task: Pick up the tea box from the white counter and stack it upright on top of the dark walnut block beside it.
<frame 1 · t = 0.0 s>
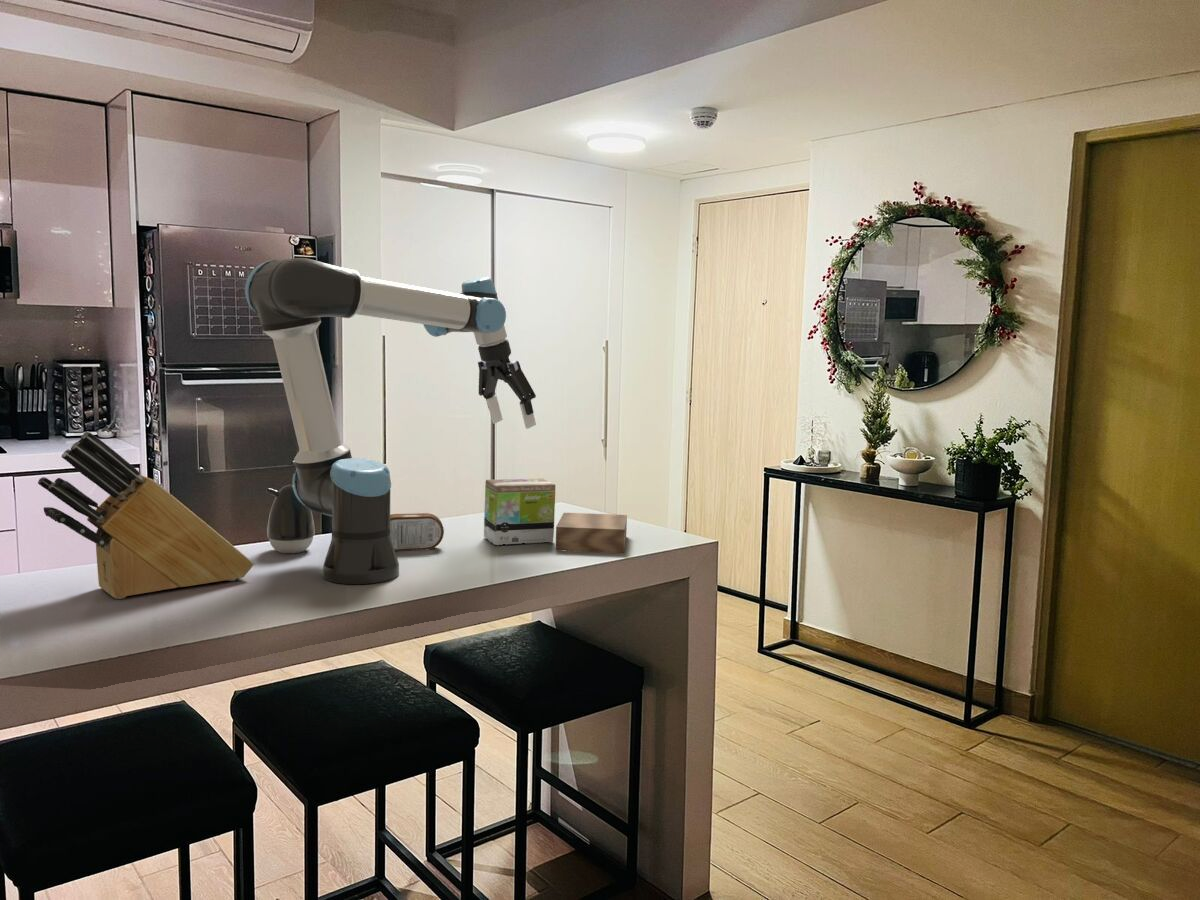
hand: (514, 424, 230), 28 cm above the counter, tool tilted 20°, fingers open, 13 cm apart
tin: (411, 550, 215), on the counter
pump dispenser: (290, 551, 210), on the counter
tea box: (518, 541, 227), on the counter
knife block: (152, 588, 178), on the counter
walnut block: (592, 544, 226), on the counter
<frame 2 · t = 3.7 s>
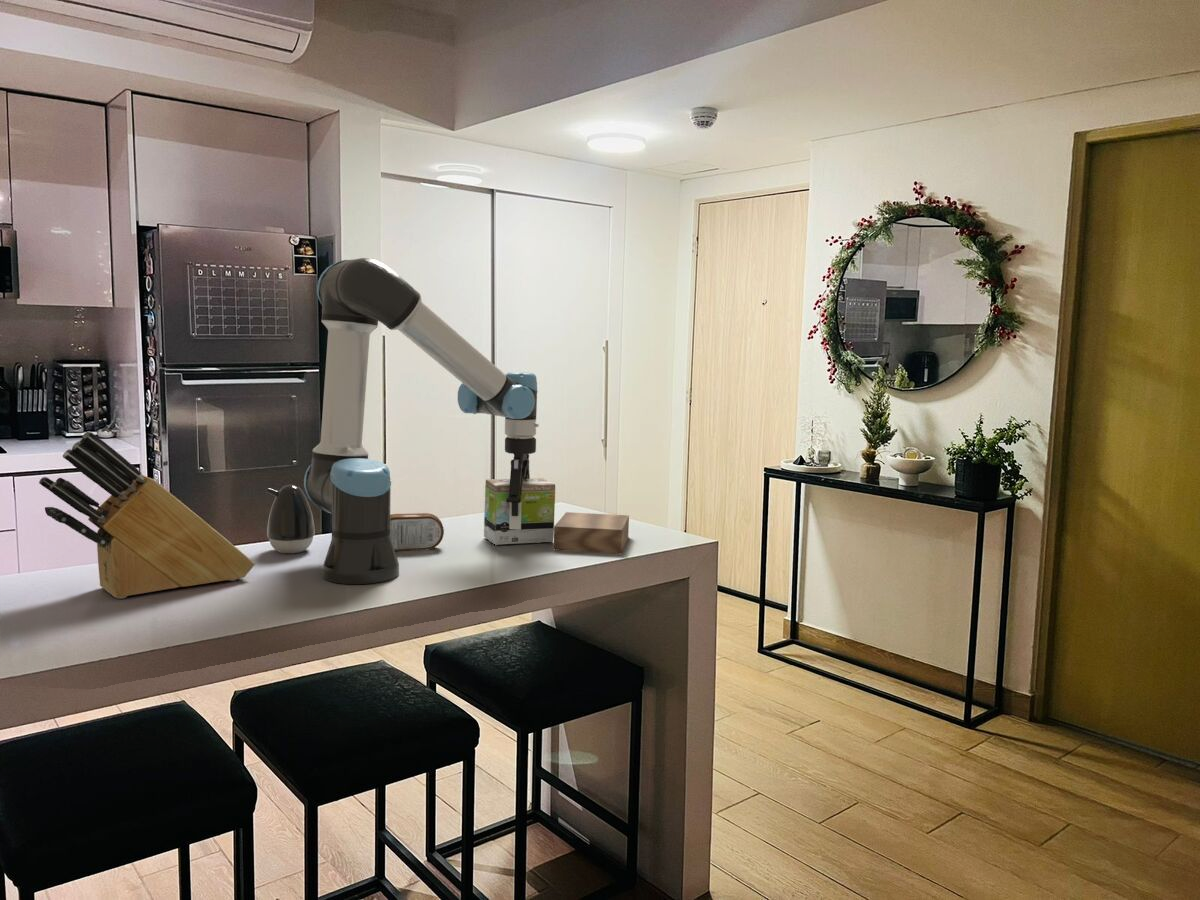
hand: (519, 523, 227), 4 cm above the counter, tool pointing down, fingers closed on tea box, 12 cm apart
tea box: (518, 541, 227), on the counter, touching gripper
everything else where it was.
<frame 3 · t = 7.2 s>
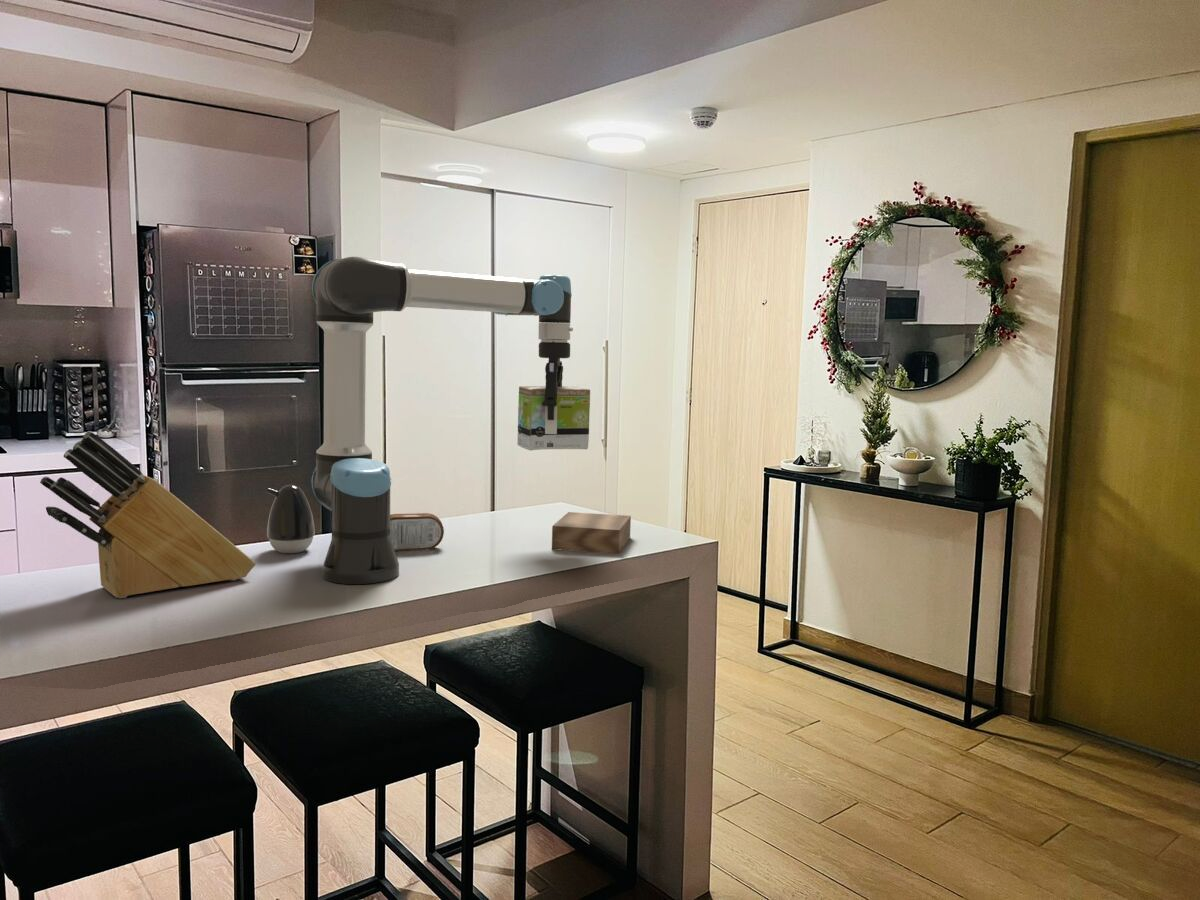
hand: (553, 431, 224), 27 cm above the counter, tool pointing down, fingers closed on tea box, 12 cm apart
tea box: (553, 448, 224), point 23 cm above the counter, touching gripper
everything else where it was.
when the fingers open (11 cm above the counter, at t = 10.9 s): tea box drops 2 cm, resting on walnut block.
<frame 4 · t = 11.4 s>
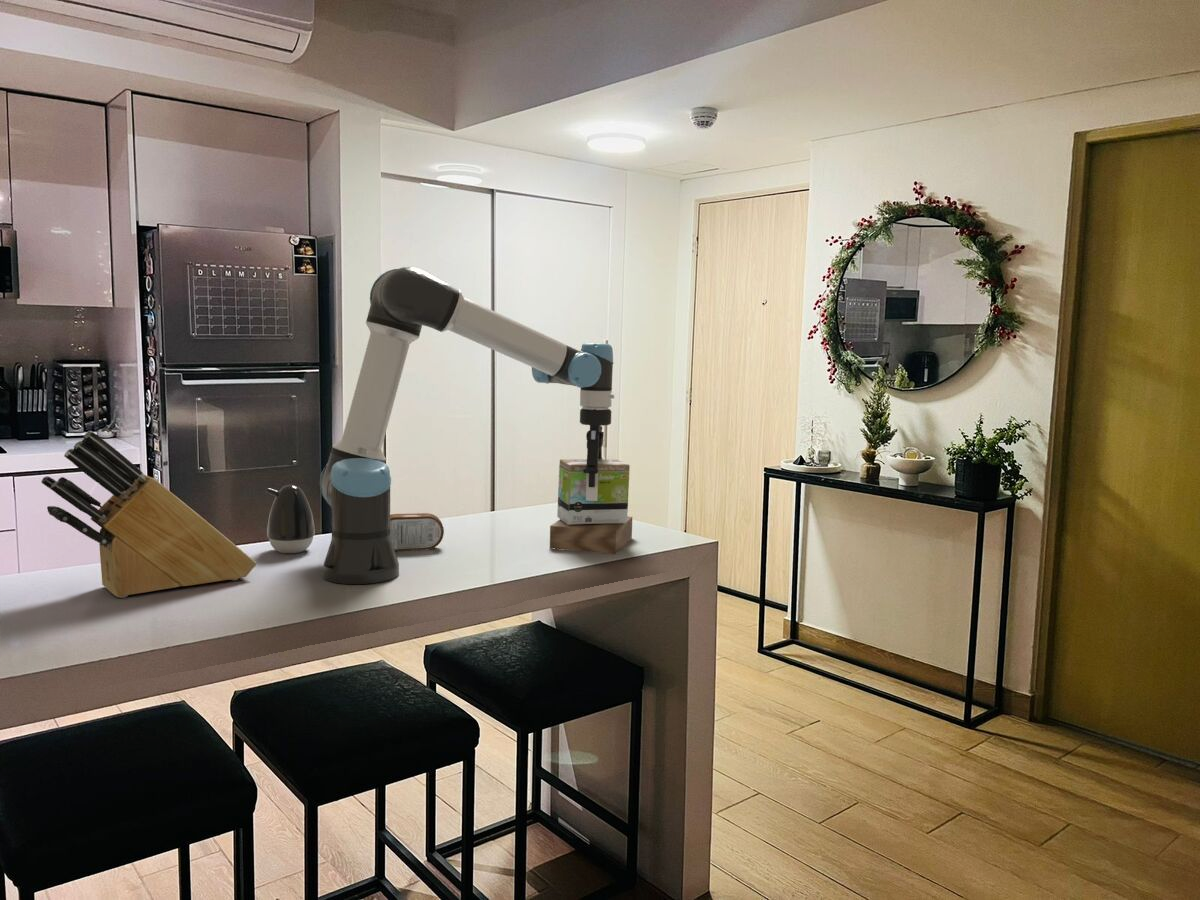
hand: (593, 495, 225), 12 cm above the counter, tool pointing down, fingers open, 13 cm apart
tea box: (592, 522, 225), point 5 cm above the counter, touching walnut block
walnut block: (591, 545, 226), on the counter, touching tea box
everything else where it was.
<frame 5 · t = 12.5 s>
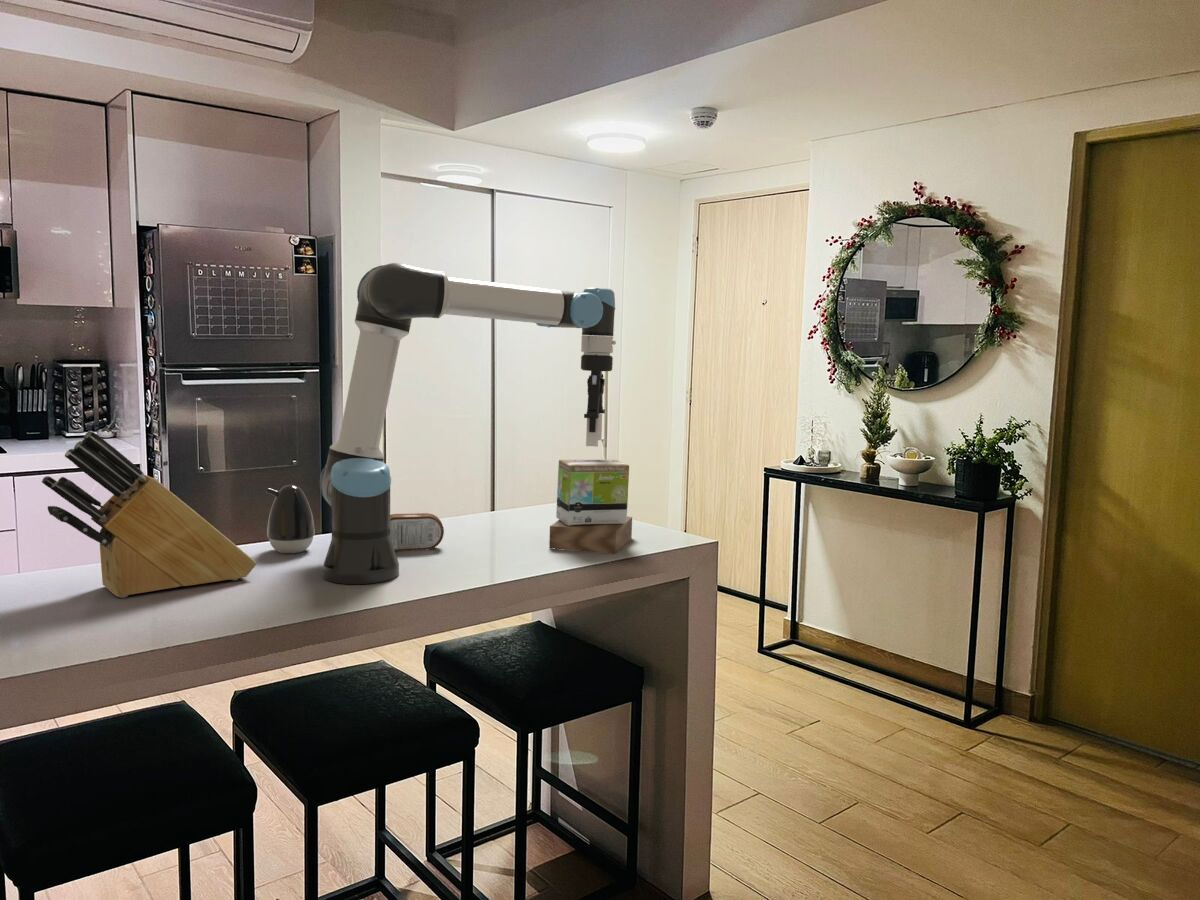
hand: (593, 443, 223), 25 cm above the counter, tool pointing down, fingers open, 13 cm apart
nothing on the counter moved.
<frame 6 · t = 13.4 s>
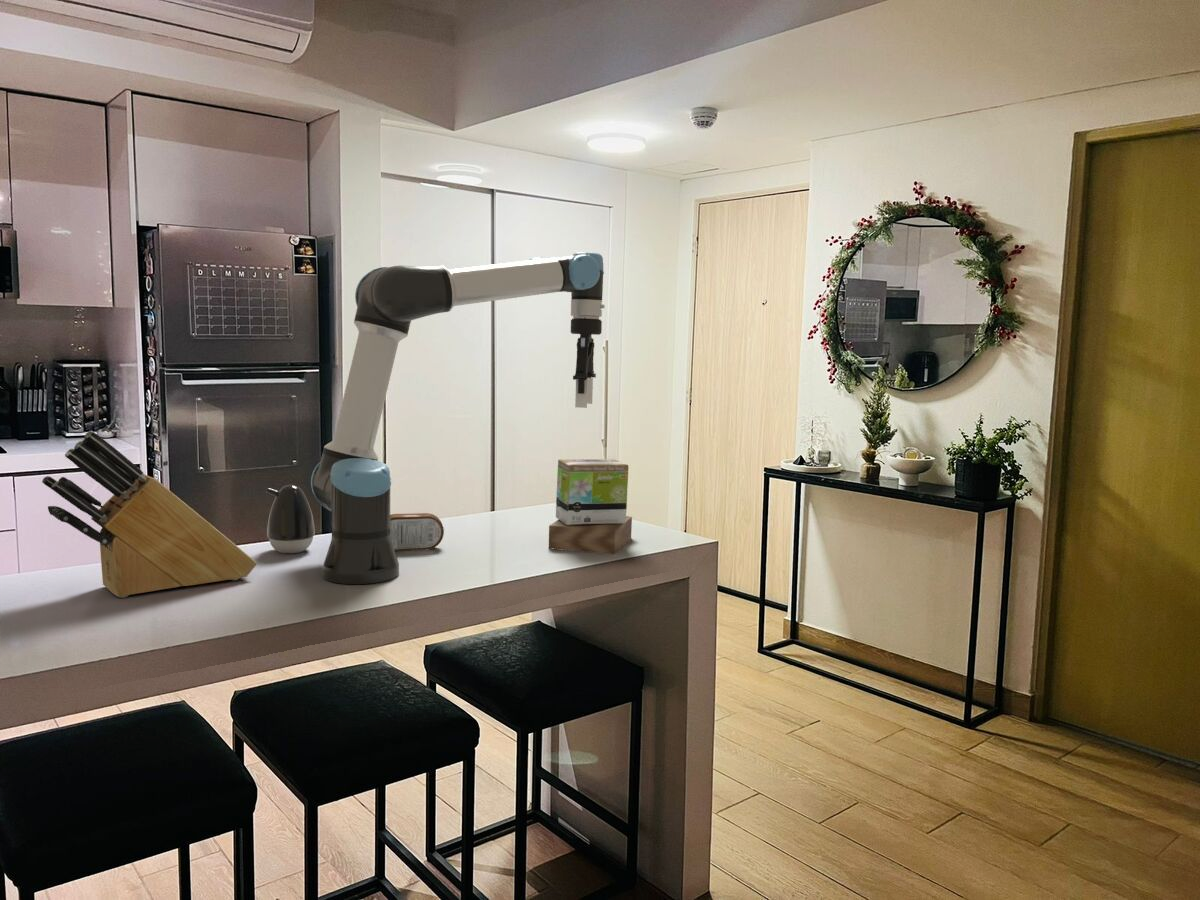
hand: (583, 405, 227), 33 cm above the counter, tool pointing down, fingers open, 13 cm apart
nothing on the counter moved.
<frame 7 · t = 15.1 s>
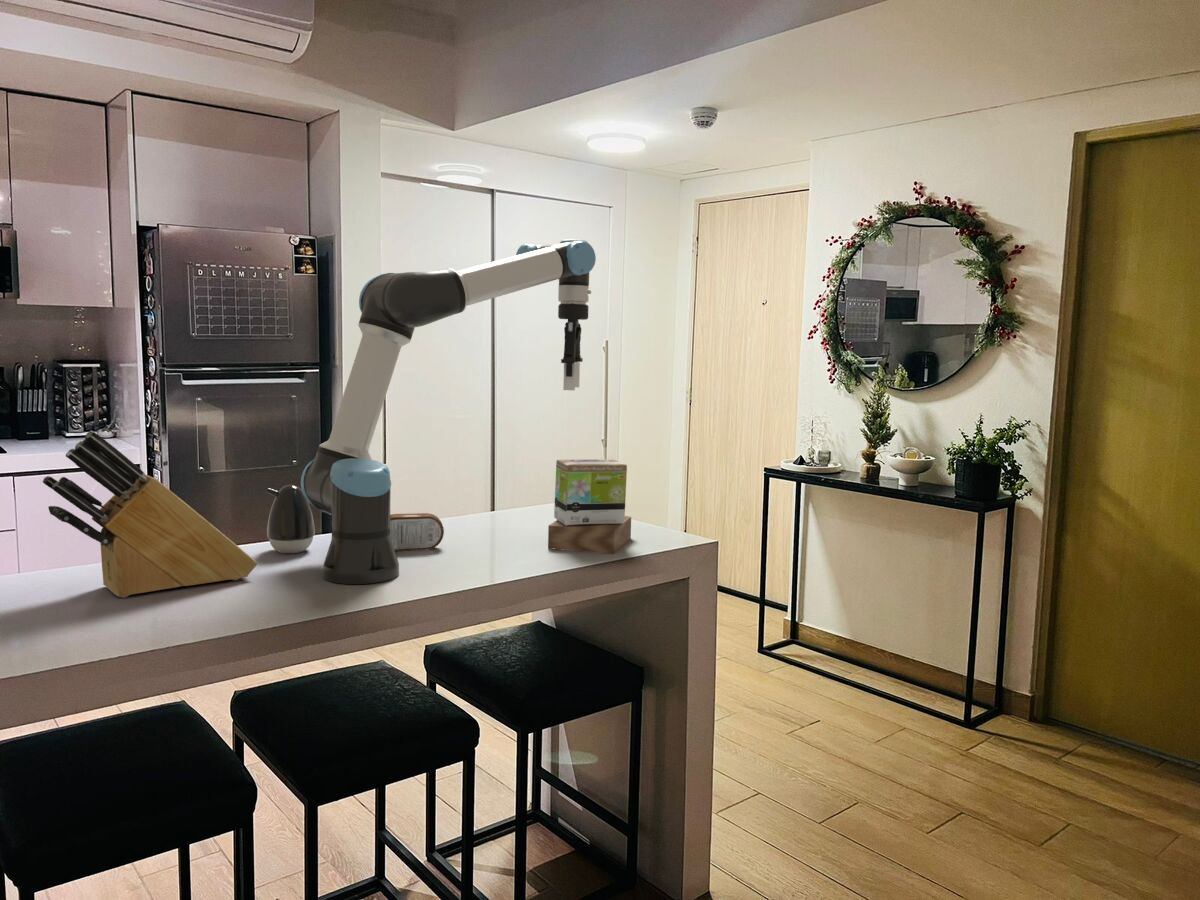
hand: (571, 388, 234), 37 cm above the counter, tool pointing down, fingers open, 13 cm apart
at the end: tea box inside the target area on the walnut block (1.1 cm from its centre), point 5.9 cm above the walnut block's base; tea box tilted 1°; the gripper is holding nothing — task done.
